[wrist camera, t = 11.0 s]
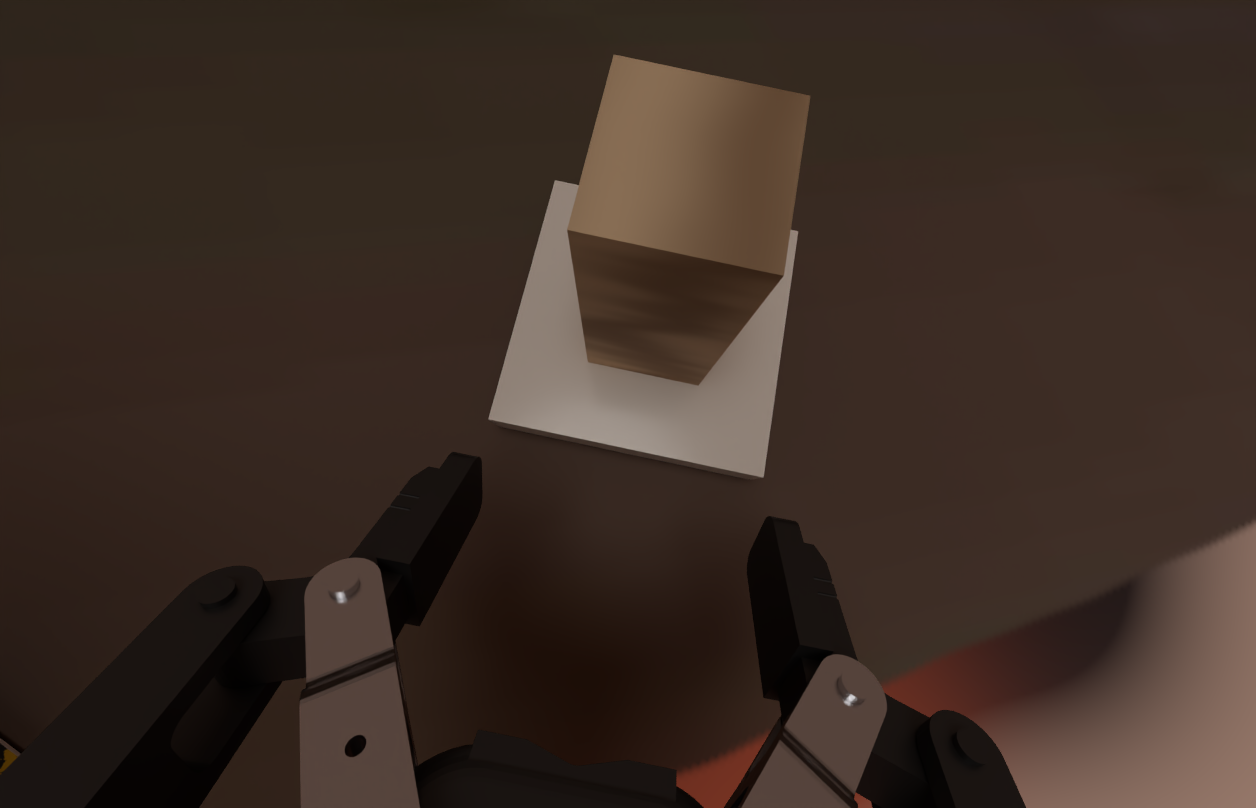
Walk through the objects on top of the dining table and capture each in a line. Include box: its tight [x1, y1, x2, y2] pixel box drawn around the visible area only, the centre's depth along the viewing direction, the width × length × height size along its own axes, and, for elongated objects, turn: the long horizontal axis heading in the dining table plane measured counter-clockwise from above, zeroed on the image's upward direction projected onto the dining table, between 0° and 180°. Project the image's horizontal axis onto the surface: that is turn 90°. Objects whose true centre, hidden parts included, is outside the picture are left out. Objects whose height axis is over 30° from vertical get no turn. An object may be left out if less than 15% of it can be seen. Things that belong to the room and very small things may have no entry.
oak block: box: [567, 55, 810, 385], centre depth 16 cm, size 5×5×10 cm
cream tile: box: [489, 180, 798, 480], centre depth 21 cm, size 12×12×2 cm
